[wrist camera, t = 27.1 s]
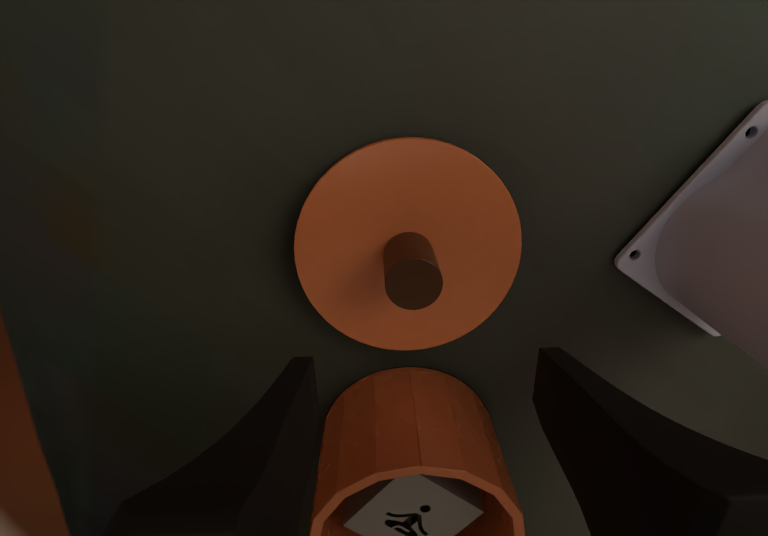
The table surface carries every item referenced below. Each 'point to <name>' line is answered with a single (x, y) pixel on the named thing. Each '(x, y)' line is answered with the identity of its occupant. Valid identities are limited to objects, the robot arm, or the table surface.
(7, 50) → the table surface
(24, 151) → the table surface
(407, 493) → the dice cube
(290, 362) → the robot arm
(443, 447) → the pot
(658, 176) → the table surface
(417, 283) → the lid
